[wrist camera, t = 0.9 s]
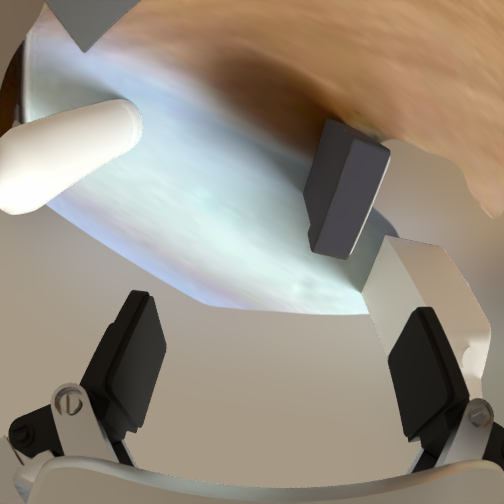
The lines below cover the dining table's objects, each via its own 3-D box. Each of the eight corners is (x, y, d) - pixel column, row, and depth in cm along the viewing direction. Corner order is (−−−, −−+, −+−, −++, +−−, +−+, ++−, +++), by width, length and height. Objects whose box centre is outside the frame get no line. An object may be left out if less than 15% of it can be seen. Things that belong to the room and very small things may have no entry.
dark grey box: (328, 201, 39) (353, 264, 26) (298, 193, 38) (311, 254, 26) (353, 126, 33) (400, 154, 20) (321, 115, 32) (353, 136, 20)
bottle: (133, 88, 31) (-77, 151, 6) (153, 139, 35) (-26, 272, 10) (89, 113, 33) (-94, 202, 8) (108, 160, 37) (-53, 289, 12)
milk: (361, 293, 47) (399, 434, 25) (385, 235, 41) (459, 380, 19) (416, 299, 47) (466, 421, 25) (442, 247, 41) (521, 368, 19)
